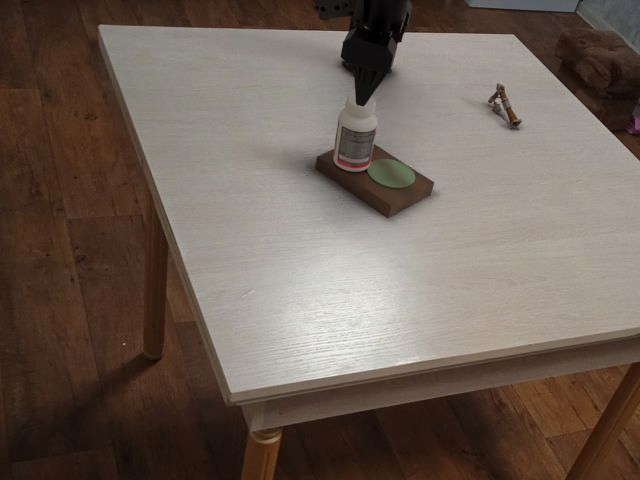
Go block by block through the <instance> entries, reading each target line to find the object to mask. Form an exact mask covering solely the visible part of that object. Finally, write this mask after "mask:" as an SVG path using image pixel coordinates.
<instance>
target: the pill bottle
mask: <svg viewBox="0 0 640 480" xmlns="http://www.w3.org/2000/svg"><path fill="white" fill-rule="evenodd" d="M376 106H377V101H376V99H375V98H374V97H373V96H371V97H370V99H369V100H368V102H367V103H366V105H365V106H364V107H362V106H359V105H357V104H356V96H355V92H354V93H350V94H349V95H347V97H346V101H345V107H344V108H343V109H342V110H340V112H339V114H338V118H337V125H336V126H337V127H336V134H335V139H334V147H333V149H334V155H333V160H334V163H335V164H336V165H337V166H338V167H340V168H342V169H344V170H347V171H351V172H360V171H363V170H366V169H367V168H368V167H369V166H370V163H371V157H372V152H373V146H374V144H375V140H376V135H377V129H378V124H379V123H378V118H377V116H376V114H375V112H376V108H377V107H376Z"/></svg>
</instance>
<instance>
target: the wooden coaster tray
mask: <svg viewBox="0 0 640 480" xmlns="http://www.w3.org/2000/svg"><path fill="white" fill-rule="evenodd" d="M333 155H334V148H333V149H330V150H328V151H326V152H324V153H321V154H318V155H317V156H316V161H315V165H314V169H316V170H317V171H318V172H320V173H322V174H323V175H325V176H326V177H327V178H329V179H330V180H332V181H333V182H335V183H336V184H338V185H339V186H341V187H342V188H344V189H345V190H347V191H348V192H349V193H351V194H353V195H354V196H355V197H357V198H358V199H360V200H361V201H363V202H364V203H366V204H368V205H369V206H370V207H372V208H373V209H374V210H376V211H378V212H379V213H381V214H382V215H383V216H385V217H386V218H390V217H393V216H394V215H396V214H397V213H399V212H401V211H402V210H405V209H407V208H408V207H410V206H412V205H414V204H416V203H418V202H419V201H421V200H423V199H424V198H426V197H428V196H430V195H432V193H433V189H434V186H435V182H434V181H433V180H432V179H430V178H428V177H427V176H425V175H424V174H422V173H421V172H419V171H417V170H416V169H414V168H413V167H411V166H409V165H408V164H406V163H405V162H404V161H401V160H400V159H398V158H397V157H395V156H394V155H393V154H391V153H389V152H388V151H386V150H384V149H383V148H381V147H380V146H378V145H377V144H375V143H374V146H373V152H372V157H371V163H370V166H369V167H368V168H367V169H366V170H363V171H360V172H351V171H347V170H344V169H342V168H340V167H338V166H337V165H336V164H335V163H334V160H333Z"/></svg>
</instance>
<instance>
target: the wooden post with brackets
mask: <svg viewBox="0 0 640 480" xmlns="http://www.w3.org/2000/svg"><path fill="white" fill-rule="evenodd" d="M495 85H496V87H495V89H496V91H495V92H494V93H493V94H492V95H491V96H490V97H489V98H488V100H487V102H488V104H493V106H492V109H493V110H494V113H495V114H497V115H501V114H502V110H504V111H505V113H506V116H507V119H508V121H509V124H508V129H512V128H517V127H518V126H519V125H520V124H521V123H522V122H523V120H522V118H518V116H517V115H516V114H515V112H514V111H513V108H512V105H511V102H510V99H509V97H507V94H506V89H505V86H504V84H501V83H500V82H496V84H495ZM497 99H500V100H501V101H500V103H498V102H497V101H496V100H497ZM501 105H502V107H503V109H502V108H501Z"/></svg>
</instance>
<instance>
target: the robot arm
mask: <svg viewBox="0 0 640 480" xmlns="http://www.w3.org/2000/svg"><path fill="white" fill-rule="evenodd" d="M413 7H414V6H413V4H412V2H411V1H410V0H314V5H313V10H314V11H315V12H317V16H318V20H319V21H329V20H330V19H338V18H348V17H350V21H349V28H348V32H347V34H346V36H345V38H344V39H343V42H342V46H341V51H340V59H342V60H343V61H342V62H341V66H343V67H344V68H346V69H347V70H349V71H351V72H352V73H353V77H354V93H355V96H356V104H357V105H359V106H362V107H364V106H365V105H366V103H367V102H368V100H369V99H370V97H373V95H374V93H376V90H377V89H378V88H379V87H380V85H381V84H382V83H383V81H384V80H385V78H386V77H387V76H388V75H389V74H391V73H392V72H393V69H392V68H393V65H394V62H395V58H396V54H397V49H398V44H400V43H402V42H403V37H404V35H405V33H406V30H407V28H408V25H409V22H410V20H411V15H412V11H413Z"/></svg>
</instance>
